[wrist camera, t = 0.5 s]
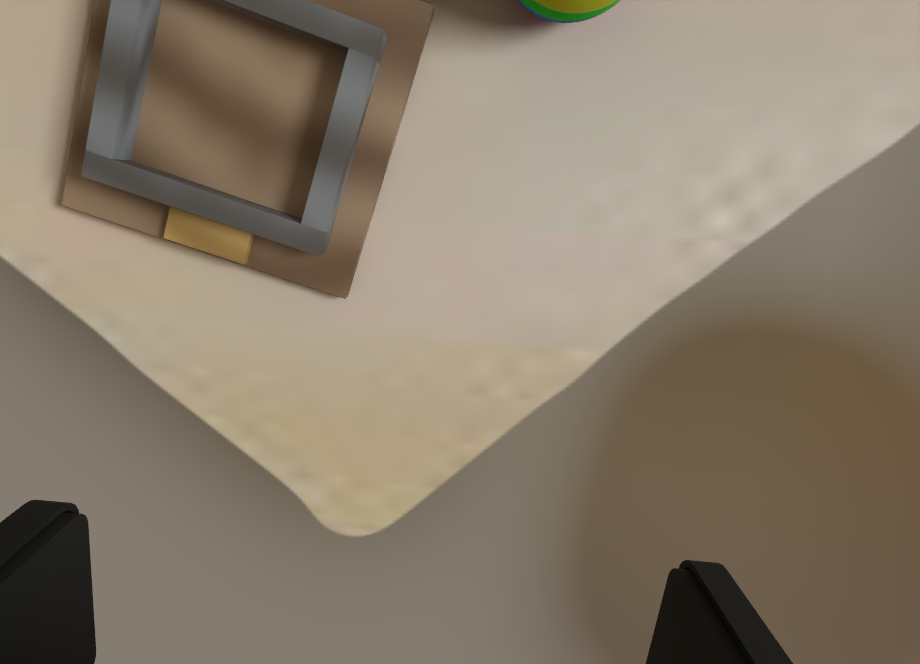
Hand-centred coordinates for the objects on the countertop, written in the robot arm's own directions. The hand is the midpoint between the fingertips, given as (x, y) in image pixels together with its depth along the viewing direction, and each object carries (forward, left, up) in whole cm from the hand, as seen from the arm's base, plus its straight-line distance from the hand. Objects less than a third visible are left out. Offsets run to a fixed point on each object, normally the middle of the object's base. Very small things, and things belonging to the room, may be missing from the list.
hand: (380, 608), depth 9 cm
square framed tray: (-6, -14, -29) cm, 33 cm away
